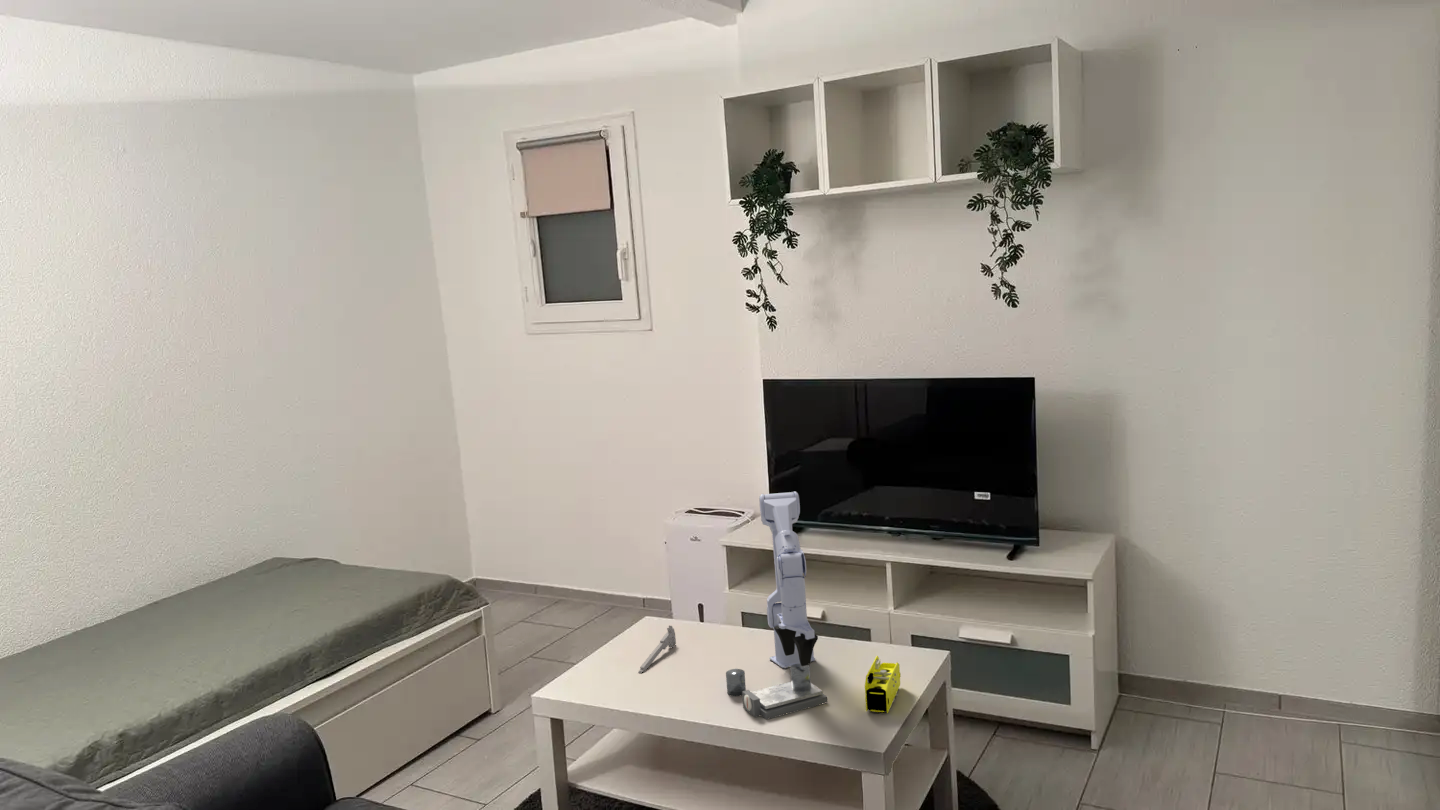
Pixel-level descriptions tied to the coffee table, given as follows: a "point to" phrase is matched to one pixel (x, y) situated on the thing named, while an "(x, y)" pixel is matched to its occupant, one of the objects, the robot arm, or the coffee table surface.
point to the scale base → (755, 709)
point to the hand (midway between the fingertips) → (797, 659)
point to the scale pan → (784, 695)
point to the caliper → (660, 648)
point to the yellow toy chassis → (881, 686)
